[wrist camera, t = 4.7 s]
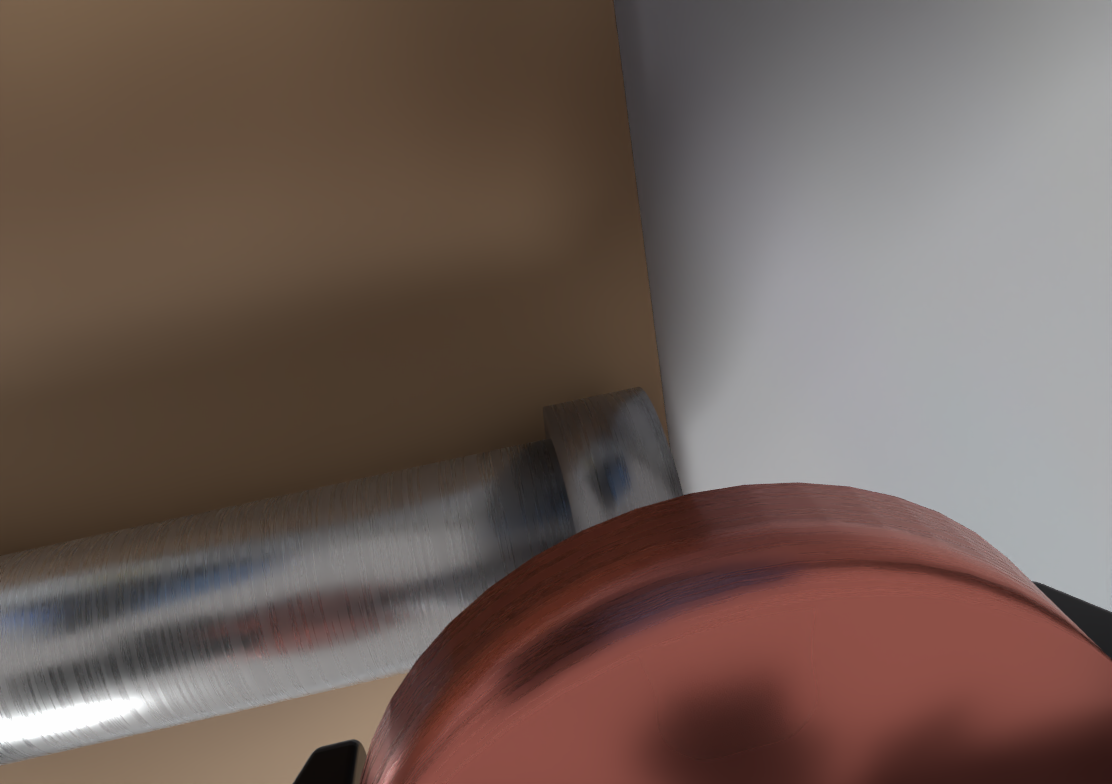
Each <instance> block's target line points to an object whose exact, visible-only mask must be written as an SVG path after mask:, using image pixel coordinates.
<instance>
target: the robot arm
mask: <svg viewBox="0 0 1112 784" xmlns="http://www.w3.org/2000/svg"><path fill="white" fill-rule="evenodd" d="M1032 582H1033V581H1032ZM1033 583H1034V584H1035V585H1036V586H1037V587H1038V588H1039V589H1040V590H1041V591H1042V592H1043V593H1044V594H1045V595H1046V596H1047V597H1048V598H1049V599H1050V600H1051V601H1052V602H1053V603H1054V604H1055V605H1056V606H1057V607H1058V608H1059V609H1060V610H1061V611H1062V612H1063V613H1064V614H1065V615H1067V616H1068V617H1069V618H1070V619H1071V620H1072V621H1073V622H1074V623H1075V624H1076V625H1077V626H1078V627H1079V628H1080V629H1081V630H1082V631H1083V632H1084V633H1085V634H1086V635H1087V636H1088V637H1089V638H1090V639H1091V640H1092V641H1093V642H1094V643H1095V644H1096V645H1097V646H1098V647H1099V648H1100V649H1101V650H1102V651H1103V652H1105V653H1106V654H1107V655H1108V656H1109V657H1110V658H1111V659H1112V612H1110V611H1107V610H1105V609H1103V608H1100V607H1098V606H1095V605H1093V604H1090V603H1088V602H1085V601H1083V600H1081V599H1078V598H1076V597H1073V596H1071V595H1068V594H1066V593H1063V592H1061V591H1058V590H1056V589H1054V588H1051V587H1049V586H1046V585H1044V584H1041V583H1038V582H1033ZM366 757H367V754H366V752H365V749H364V747H363V745H362V744H361V742H360V741H358V740H355V739H351V740H347V741H342V742H338V743H334V744H330V745H325V746H321V747H319V748H317V749H316V750H315V751H314V752H313V753H312V754H311V755H310V757H309V758H308V760H307V761H306V763H305V765H304V766H303V768H302V769H301V771H300V772H299V774H298V776H297V777H296V779H295V780H294V782H293V783H292V784H360V778H361V774H362V771H363V768H364V764H365V761H366Z"/></svg>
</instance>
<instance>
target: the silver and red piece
mask: <svg viewBox="0 0 1112 784" xmlns="http://www.w3.org/2000/svg"><path fill="white" fill-rule="evenodd" d="M543 418H544V426H545V433H546V439H544V440H540V441H535V442H530V443H526V444H521V445H516V446H512V447H507V448H502V449H498V450H493V451H488V452H484V453H479V454H474V455H470V456H465V457H460V458H455V459H451V460H446V461H441V462H437V463H432V464H427V465H423V466H418V467H413V468H409V469H404V470H399V471H395V472H390V473H385V474H381V475H376V476H371V477H367V478H362V479H357V480H353V481H348V482H343V483H339V484H334V485H329V486H325V487H320V488H315V489H311V490H306V491H301V492H296V493H292V494H287V495H282V496H278V497H273V498H268V499H264V500H259V501H254V502H250V503H245V504H240V505H236V506H231V507H226V508H222V509H217V510H212V511H208V512H203V513H198V514H194V515H189V516H184V517H180V518H175V519H170V520H166V521H161V522H156V523H152V524H147V525H142V526H137V527H133V528H128V529H123V530H119V531H114V532H109V533H105V534H100V535H95V536H91V537H86V538H81V539H77V540H72V541H67V542H63V543H58V544H53V545H49V546H44V547H39V548H35V549H30V550H25V551H21V552H16V553H11V554H7V555H2V556H0V766H2V765H6V764H10V763H15V762H19V761H24V760H28V759H32V758H37V757H41V756H45V755H50V754H54V753H59V752H63V751H67V750H72V749H76V748H81V747H85V746H89V745H94V744H98V743H102V742H107V741H111V740H116V739H120V738H124V737H129V736H133V735H137V734H142V733H146V732H151V731H155V730H159V729H164V728H168V727H173V726H177V725H181V724H186V723H190V722H194V721H199V720H203V719H208V718H212V717H216V716H221V715H225V714H229V713H234V712H238V711H243V710H247V709H251V708H256V707H260V706H265V705H269V704H273V703H278V702H282V701H286V700H291V699H295V698H300V697H304V696H308V695H313V694H317V693H322V692H326V691H330V690H335V689H339V688H343V687H348V686H352V685H357V684H361V683H365V682H370V681H374V680H378V679H383V678H387V677H392V676H396V675H400V674H405V673H408V674H407V675H406V677H405V678H404V680H403V681H402V683H401V684H400V686H399V687H398V689H397V691H396V692H395V694H394V695H393V697H392V698H391V700H390V702H389V704H388V706H387V708H386V710H385V712H384V714H383V717H382V719H381V721H380V723H379V725H378V727H377V729H376V731H375V734H374V736H373V738H372V740H371V743H370V747H369V750H368V754H367V757H366V761H365V764H364V768H363V771H362V774H361V778H360V784H1112V659H1111V658H1110V657H1109V656H1108V655H1107V654H1106V653H1105V652H1103V651H1102V650H1101V649H1100V648H1099V647H1098V646H1097V645H1096V644H1095V643H1094V642H1093V641H1092V640H1091V639H1090V638H1089V637H1088V636H1087V635H1086V634H1085V633H1084V632H1083V631H1082V630H1081V629H1080V628H1079V627H1078V626H1077V625H1076V624H1075V623H1074V622H1073V621H1072V620H1071V619H1070V618H1069V617H1068V616H1067V615H1065V614H1064V613H1063V612H1062V611H1061V610H1060V609H1059V608H1058V607H1057V606H1056V605H1055V604H1054V603H1053V602H1052V601H1051V600H1050V599H1049V598H1048V597H1047V596H1046V595H1045V594H1044V593H1043V592H1042V591H1041V590H1040V589H1039V588H1038V587H1037V586H1036V585H1035V584H1034V583H1033V582H1032V581H1031V580H1030V579H1029V578H1027V577H1026V576H1025V575H1024V574H1023V573H1022V572H1021V571H1020V570H1019V569H1018V568H1017V567H1016V566H1015V565H1014V564H1013V563H1012V562H1011V561H1010V560H1009V559H1008V558H1007V557H1006V556H1004V555H1003V554H1002V553H1001V552H999V551H998V550H997V549H996V548H994V547H993V546H992V545H991V544H989V543H988V542H987V541H986V540H984V539H983V538H982V537H981V536H979V535H978V534H977V533H975V532H973V531H972V530H970V529H968V528H966V527H964V526H963V525H961V524H959V523H957V522H955V521H954V520H952V519H950V518H948V517H946V516H945V515H943V514H941V513H939V512H936V511H934V510H931V509H928V508H926V507H923V506H920V505H917V504H915V503H912V502H909V501H907V500H904V499H901V498H898V497H895V496H891V495H886V494H881V493H877V492H872V491H867V490H862V489H858V488H853V487H847V486H835V485H822V484H810V483H777V484H754V485H741V486H735V487H728V488H722V489H716V490H710V491H704V492H697V493H691V494H687V495H684V496H683V493H682V489H681V486H680V482H679V478H678V474H677V471H676V467H675V464H674V461H673V457H672V454H671V451H670V448H669V445H668V442H667V439H666V436H665V433H664V430H663V428H662V425H661V423H660V420H659V417H658V415H657V413H656V411H655V408H654V406H653V404H652V402H651V400H650V398H649V397H648V395H647V394H646V392H645V391H644V390H643V389H642V388H641V387H635V388H630V389H625V390H621V391H616V392H611V393H606V394H602V395H597V396H592V397H588V398H583V399H578V400H573V401H569V402H564V403H559V404H554V405H550V406H545V407H543Z"/></svg>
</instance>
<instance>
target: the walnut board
mask: <svg viewBox="0 0 1112 784" xmlns="http://www.w3.org/2000/svg"><path fill="white" fill-rule="evenodd" d="M635 387H641V388H642V389H643V390H644V391H645V392H646V394H647V395H648V397H649V398H650V400H651V402H652V404H653V406H654V408H655V411H656V413H657V415H658V417H659V420H660V423H661V425H662V428H663V430H664V433H665V436H666V439H667V442H668V445H669V438H668V430H667V422H666V414H665V406H664V398H663V390H662V383H661V375H660V367H659V359H658V351H657V343H656V335H655V327H654V319H653V311H652V303H651V295H650V287H649V279H648V271H647V263H646V256H645V248H644V240H643V232H642V224H641V216H640V208H639V200H638V192H637V184H636V176H635V168H634V160H633V152H632V144H631V136H630V128H629V121H628V113H627V105H626V97H625V89H624V81H623V73H622V65H621V57H620V49H619V41H618V33H617V25H616V17H615V9H614V1H613V0H0V556H2V555H7V554H11V553H16V552H21V551H25V550H30V549H35V548H39V547H44V546H49V545H53V544H58V543H63V542H67V541H72V540H77V539H81V538H86V537H91V536H95V535H100V534H105V533H109V532H114V531H119V530H123V529H128V528H133V527H137V526H142V525H147V524H152V523H156V522H161V521H166V520H170V519H175V518H180V517H184V516H189V515H194V514H198V513H203V512H208V511H212V510H217V509H222V508H226V507H231V506H236V505H240V504H245V503H250V502H254V501H259V500H264V499H268V498H273V497H278V496H282V495H287V494H292V493H296V492H301V491H306V490H311V489H315V488H320V487H325V486H329V485H334V484H339V483H343V482H348V481H353V480H357V479H362V478H367V477H371V476H376V475H381V474H385V473H390V472H395V471H399V470H404V469H409V468H413V467H418V466H423V465H427V464H432V463H437V462H441V461H446V460H451V459H455V458H460V457H465V456H470V455H474V454H479V453H484V452H488V451H493V450H498V449H502V448H507V447H512V446H516V445H521V444H526V443H530V442H535V441H540V440H544V439H546V433H545V426H544V418H543V407H545V406H550V405H554V404H559V403H564V402H569V401H573V400H578V399H583V398H588V397H592V396H597V395H602V394H606V393H611V392H616V391H621V390H625V389H630V388H635ZM669 448H670V446H669ZM407 674H408V673H405V674H400V675H396V676H392V677H387V678H383V679H378V680H374V681H370V682H365V683H361V684H357V685H352V686H348V687H343V688H339V689H335V690H330V691H326V692H322V693H317V694H313V695H308V696H304V697H300V698H295V699H291V700H286V701H282V702H278V703H273V704H269V705H265V706H260V707H256V708H251V709H247V710H243V711H238V712H234V713H229V714H225V715H221V716H216V717H212V718H208V719H203V720H199V721H194V722H190V723H186V724H181V725H177V726H173V727H168V728H164V729H159V730H155V731H151V732H146V733H142V734H137V735H133V736H129V737H124V738H120V739H116V740H111V741H107V742H102V743H98V744H94V745H89V746H85V747H81V748H76V749H72V750H67V751H63V752H59V753H54V754H50V755H45V756H41V757H37V758H32V759H28V760H24V761H19V762H15V763H10V764H6V765H2V766H0V784H292V783H293V782H294V780H295V779H296V777H297V776H298V774H299V772H300V771H301V769H302V768H303V766H304V765H305V763H306V761H307V760H308V758H309V757H310V755H311V754H312V753H313V752H314V751H315V750H316V749H317V748H319V747H321V746H325V745H330V744H334V743H338V742H342V741H347V740H351V739H355V740H358V741H360V742H361V744H362V745H363V747H364V749H365V752H366V754H368V750H369V747H370V743H371V740H372V738H373V736H374V734H375V731H376V729H377V727H378V725H379V723H380V721H381V719H382V717H383V714H384V712H385V710H386V708H387V706H388V704H389V702H390V700H391V698H392V697H393V695H394V694H395V692H396V691H397V689H398V687H399V686H400V684H401V683H402V681H403V680H404V678H405V677H406V675H407Z"/></svg>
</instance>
